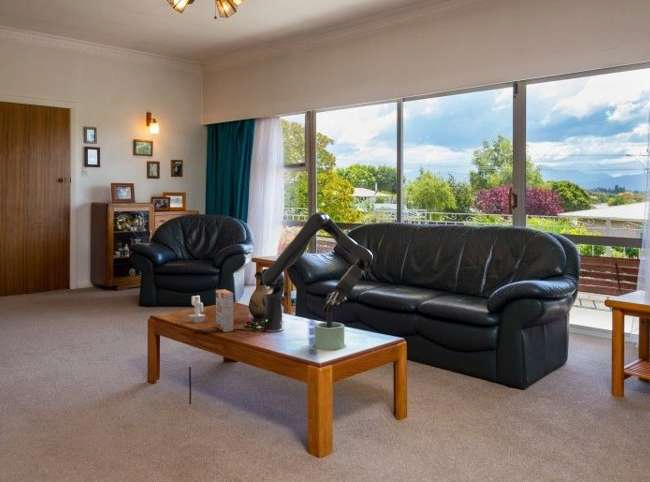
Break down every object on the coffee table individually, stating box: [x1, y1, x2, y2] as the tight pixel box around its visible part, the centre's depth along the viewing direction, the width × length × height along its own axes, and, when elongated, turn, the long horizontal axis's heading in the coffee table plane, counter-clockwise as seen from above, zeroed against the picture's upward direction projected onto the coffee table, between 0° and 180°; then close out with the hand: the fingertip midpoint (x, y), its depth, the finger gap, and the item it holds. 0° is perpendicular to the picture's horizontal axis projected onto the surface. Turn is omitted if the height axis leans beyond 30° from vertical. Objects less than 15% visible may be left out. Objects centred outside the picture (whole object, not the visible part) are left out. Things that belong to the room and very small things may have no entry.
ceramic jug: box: [248, 267, 269, 321], centre depth 333 cm, size 17×15×30 cm
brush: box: [324, 302, 334, 328], centre depth 267 cm, size 5×5×15 cm
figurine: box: [188, 295, 207, 323], centre depth 325 cm, size 7×9×15 cm
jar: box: [314, 321, 345, 351], centre depth 269 cm, size 14×14×10 cm
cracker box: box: [215, 289, 234, 333], centre depth 304 cm, size 14×6×21 cm, turn 27°
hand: (326, 311), depth 266 cm, fingers closed on brush, 2 cm apart
